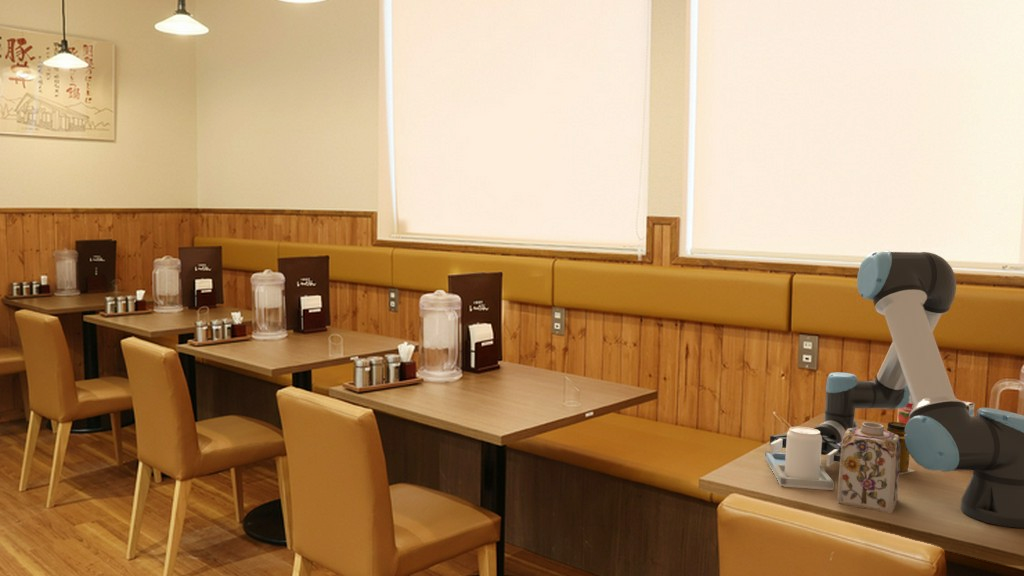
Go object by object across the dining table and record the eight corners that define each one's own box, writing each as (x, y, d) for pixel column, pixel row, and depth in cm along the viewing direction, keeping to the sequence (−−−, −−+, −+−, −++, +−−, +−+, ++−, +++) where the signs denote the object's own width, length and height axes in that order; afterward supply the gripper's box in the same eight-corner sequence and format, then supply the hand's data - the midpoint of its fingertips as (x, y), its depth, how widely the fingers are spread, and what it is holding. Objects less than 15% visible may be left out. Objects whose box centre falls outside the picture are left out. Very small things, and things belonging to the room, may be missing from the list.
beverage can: (824, 478, 203) (827, 430, 202) (810, 485, 197) (814, 436, 196) (792, 471, 209) (795, 424, 208) (778, 477, 203) (781, 429, 202)
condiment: (915, 471, 214) (919, 425, 213) (896, 476, 210) (900, 429, 209) (889, 463, 220) (892, 419, 219) (870, 468, 216) (873, 423, 215)
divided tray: (833, 490, 197) (833, 481, 196) (780, 486, 198) (781, 478, 198) (811, 462, 219) (812, 454, 219) (764, 458, 221) (765, 451, 221)
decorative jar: (844, 489, 197) (849, 415, 196) (897, 499, 192) (903, 423, 190) (835, 504, 187) (841, 425, 186) (892, 514, 181) (898, 434, 180)
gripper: (876, 461, 209) (851, 481, 193) (779, 442, 225) (748, 459, 208) (878, 432, 209) (853, 449, 192) (780, 415, 224) (750, 429, 207)
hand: (798, 454), depth 200 cm, fingers open, 13 cm apart
